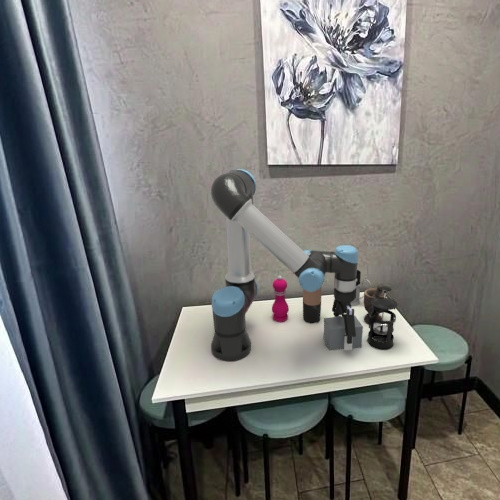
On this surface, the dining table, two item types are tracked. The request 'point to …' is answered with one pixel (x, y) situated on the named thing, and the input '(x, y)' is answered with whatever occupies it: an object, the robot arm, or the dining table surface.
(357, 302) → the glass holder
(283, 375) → the dining table surface
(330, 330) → the grey rectangular block
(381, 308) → the french press
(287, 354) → the dining table surface
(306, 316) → the travel mug
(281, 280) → the pepper mill
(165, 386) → the dining table surface
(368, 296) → the mortar and pestle
